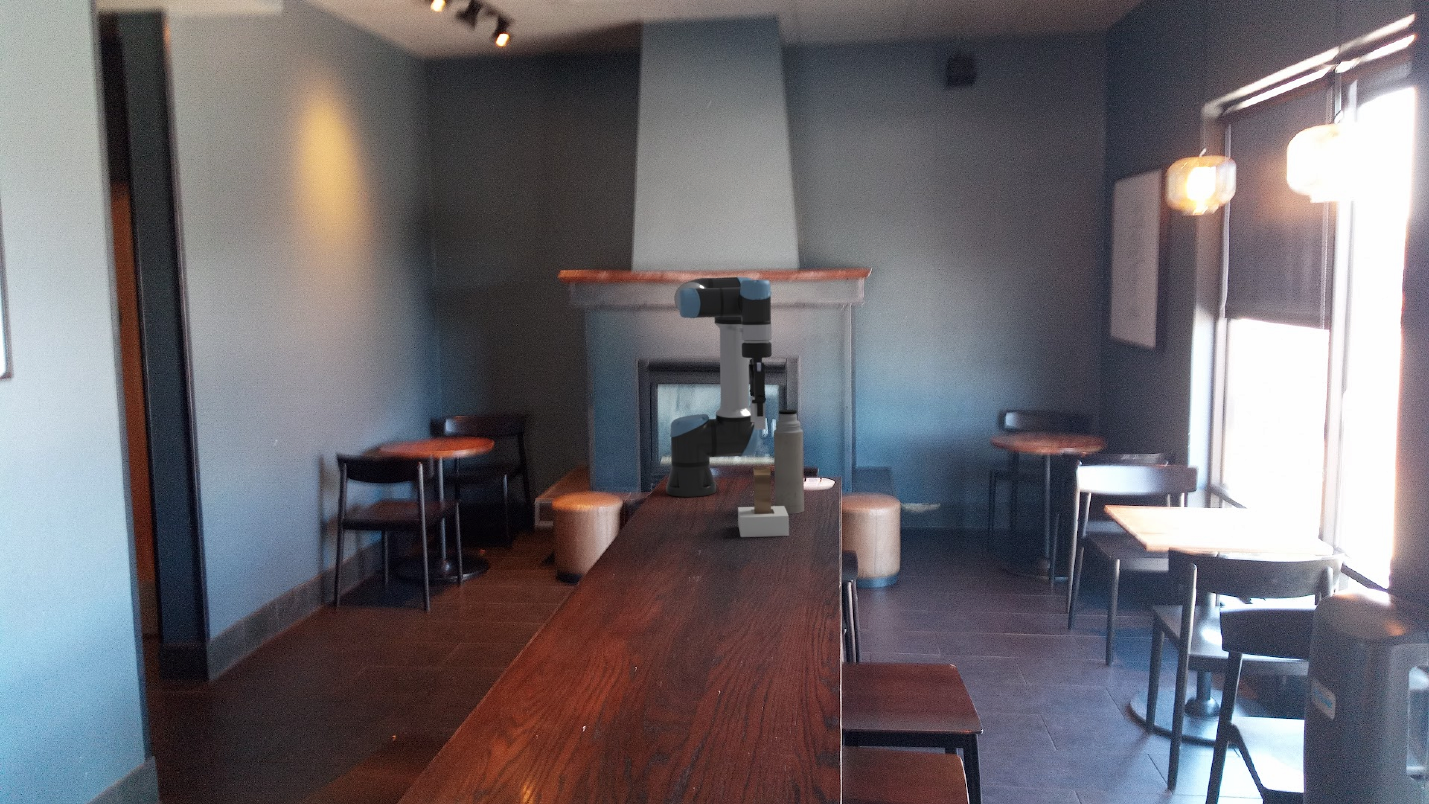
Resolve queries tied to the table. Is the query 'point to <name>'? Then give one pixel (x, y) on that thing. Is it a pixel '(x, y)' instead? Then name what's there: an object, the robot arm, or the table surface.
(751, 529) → the socket block
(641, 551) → the table surface
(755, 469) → the bronze peg
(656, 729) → the table surface
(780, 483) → the thermos bottle
